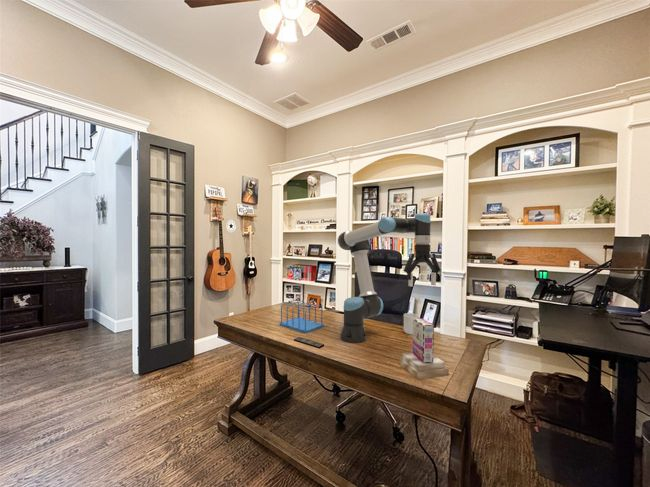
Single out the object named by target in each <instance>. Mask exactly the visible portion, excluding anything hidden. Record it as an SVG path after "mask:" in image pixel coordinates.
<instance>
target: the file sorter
mask: <svg viewBox="0 0 650 487" xmlns="http://www.w3.org/2000/svg"><path fill="white" fill-rule="evenodd" d="M287 303H289V304H288V305H286V320H283V305H284V304H287ZM306 304H307V305H306ZM290 305H293V307H292V318H291V319H288V316H289V314H288V313H289V312H288V309H289V306H290ZM301 305H303V306H301ZM280 306H281V307H280V322H279V326H282V327H284V328H288V329H291V330H294V331H297V332H300V333H304V334H308V333H311V332H313V331H315V330H318V329H321V328H323V327H325V325H324V324H323V306H322V305H320V304H318V305H316V304H315V303H310V302H308V301H307V302H304V301H302V300H300V301H299V300H297V299H294V300H290V301H288V300H287V301H284V302H283V303H281V305H280ZM311 306H312V307H311ZM295 307H297V317H295V318H294V309H295ZM306 307H308V308H306ZM317 307H320V308H321V310H320V311H321V312H320V313H321V317H320V319H321V320H320V321H321V323H320V322H317ZM305 308H306V309H305ZM302 309H303V312H302V313H303V317H300V314H301V313H300V311H301V310H302ZM311 309H314V320H311ZM307 311H308V319H307Z"/></svg>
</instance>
